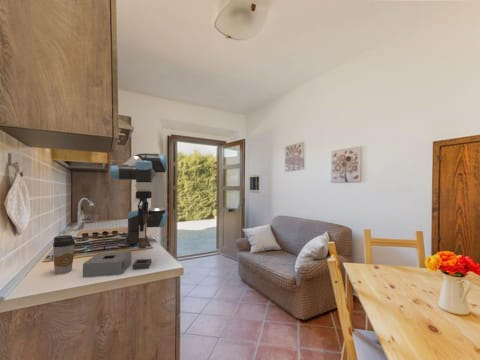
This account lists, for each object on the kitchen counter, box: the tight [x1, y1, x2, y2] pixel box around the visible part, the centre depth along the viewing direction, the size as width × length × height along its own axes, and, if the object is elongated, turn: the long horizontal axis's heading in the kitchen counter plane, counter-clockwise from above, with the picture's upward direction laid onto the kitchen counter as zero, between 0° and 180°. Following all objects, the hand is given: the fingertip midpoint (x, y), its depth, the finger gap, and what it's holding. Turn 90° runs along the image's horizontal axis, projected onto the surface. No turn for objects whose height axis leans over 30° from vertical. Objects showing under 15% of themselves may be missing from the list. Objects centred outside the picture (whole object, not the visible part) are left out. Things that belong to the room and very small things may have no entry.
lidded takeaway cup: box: [52, 234, 73, 261], centre depth 124 cm, size 9×8×12 cm
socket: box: [131, 258, 152, 271], centre depth 111 cm, size 7×7×2 cm
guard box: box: [82, 251, 132, 278], centre depth 107 cm, size 16×16×6 cm
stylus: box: [138, 214, 147, 250], centre depth 112 cm, size 3×3×17 cm
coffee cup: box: [52, 237, 76, 275], centre depth 104 cm, size 8×8×15 cm
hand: (142, 236), depth 112 cm, fingers closed on stylus, 3 cm apart
